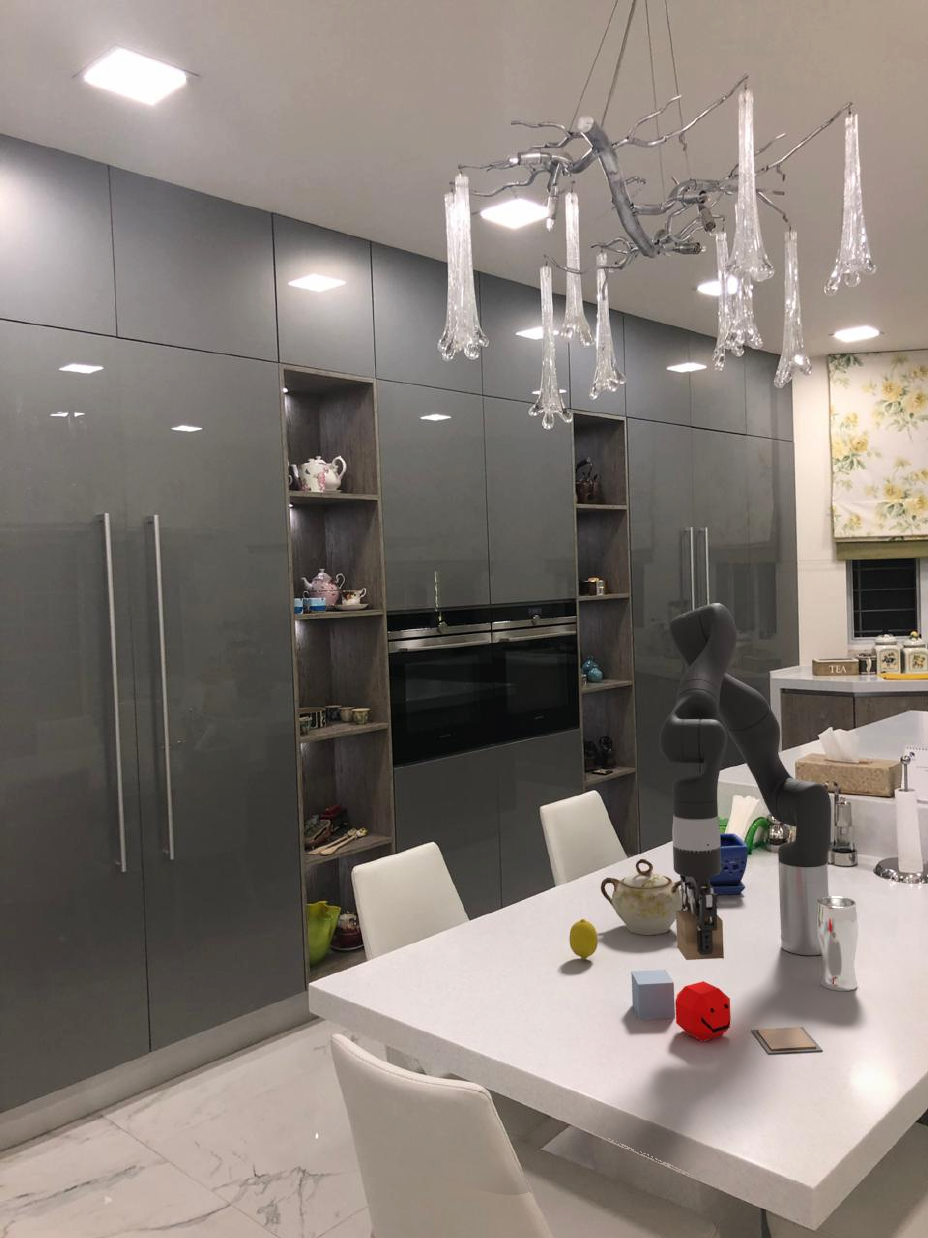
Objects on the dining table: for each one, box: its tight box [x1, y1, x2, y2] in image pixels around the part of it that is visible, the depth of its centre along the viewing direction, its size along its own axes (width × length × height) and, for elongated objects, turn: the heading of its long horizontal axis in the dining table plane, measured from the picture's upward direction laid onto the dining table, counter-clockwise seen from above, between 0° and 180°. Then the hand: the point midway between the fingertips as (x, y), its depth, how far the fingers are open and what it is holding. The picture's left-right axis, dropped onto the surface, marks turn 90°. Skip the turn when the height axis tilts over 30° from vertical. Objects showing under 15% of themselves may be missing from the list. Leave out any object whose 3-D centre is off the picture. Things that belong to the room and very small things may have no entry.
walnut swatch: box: [750, 1026, 824, 1055], centre depth 160 cm, size 8×8×1 cm
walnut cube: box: [675, 910, 725, 961], centre depth 163 cm, size 6×6×6 cm
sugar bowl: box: [600, 858, 683, 936], centre depth 215 cm, size 20×15×15 cm
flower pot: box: [709, 832, 749, 895], centre depth 242 cm, size 13×13×12 cm
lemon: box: [568, 918, 599, 960], centre depth 199 cm, size 6×6×8 cm
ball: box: [674, 980, 732, 1043], centre depth 163 cm, size 8×8×8 cm
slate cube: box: [630, 969, 676, 1020], centre depth 173 cm, size 6×6×6 cm
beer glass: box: [817, 895, 859, 992], centre depth 181 cm, size 7×7×15 cm
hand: (699, 946), depth 163 cm, fingers closed on walnut cube, 6 cm apart
